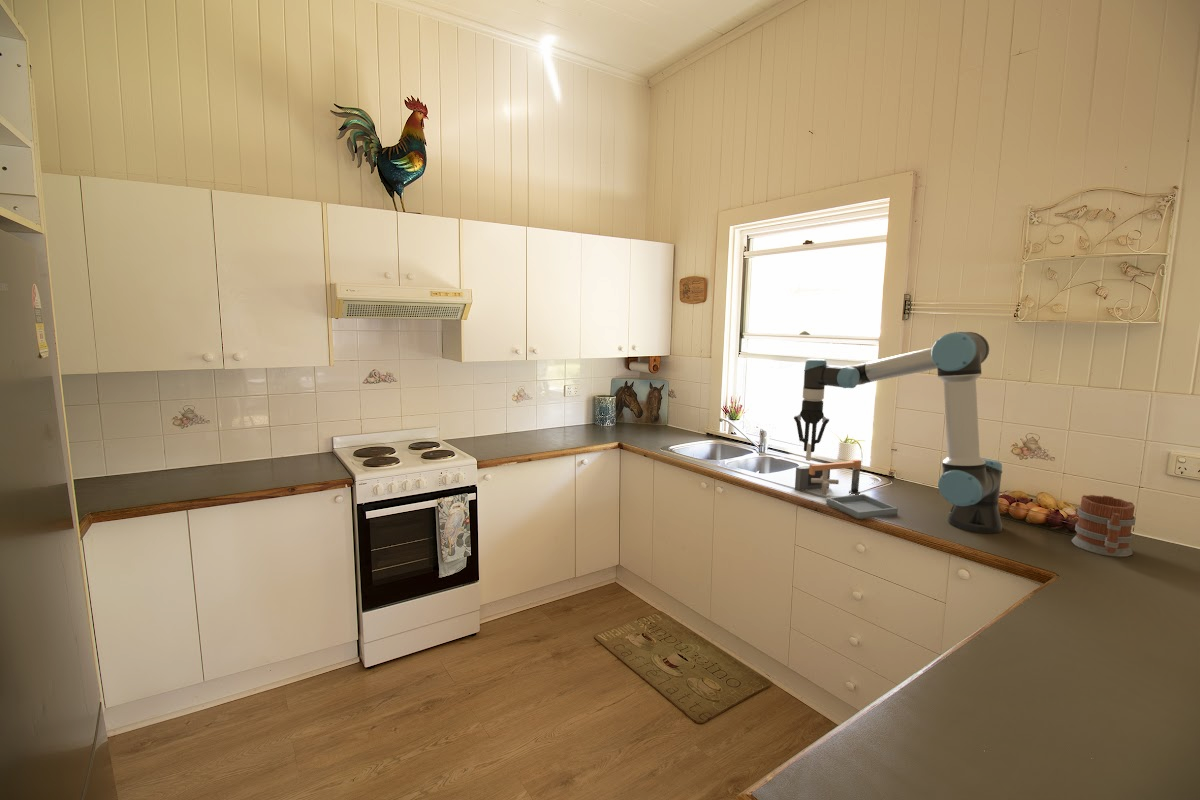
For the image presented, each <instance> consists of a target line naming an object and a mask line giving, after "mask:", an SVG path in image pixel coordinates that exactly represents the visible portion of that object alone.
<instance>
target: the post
mask: <svg viewBox="0 0 1200 800" xmlns="http://www.w3.org/2000/svg"><path fill="white" fill-rule="evenodd" d="M860 471H861V469H854V468H852V472H851V473H852V474H851V475H852V476H851V485H850V490H849V491H848V494H849V493H851V494H855V495H859V494H861V492H860V491H859V484H860V473H861V472H860ZM851 494H850V495H851Z"/></svg>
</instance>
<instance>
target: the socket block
mask: <svg viewBox="0 0 1200 800" xmlns="http://www.w3.org/2000/svg"><path fill="white" fill-rule="evenodd" d="M809 467H810V465H804V466H796V467H795V479H794V480H795V481H794V489H795V490H797V491H799V492H803V491H811V490H820V489H821V490H822V483H811V478H818V479H820V477H821V476H823V470H819V471H815V475H811V474H809ZM827 479H831V470H828V477H827ZM829 488H830V486H829V487H827V489H829Z"/></svg>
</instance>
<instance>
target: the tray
mask: <svg viewBox="0 0 1200 800" xmlns="http://www.w3.org/2000/svg"><path fill="white" fill-rule="evenodd" d="M825 501H826V503H825V505H827V506H829V507H831V508H832V509H835V510H837V511H839V512H842V513H843V514H846V515H848V516H850V517H853V518H854V519H856V520H864V519H865V520H866V519H873V518H875V517H876V518H882V517H883V518H884V517H890V516H891V517H893V516H898V512H899V511H898V509H899V508H898V507H896V506H893V505H891V504H889V503H886V502H883V501H882V500H879V499H876V498H875V497H872V496H869V495H866V494H864V493H863V494H861V493H860V495H851V494H849V495H842V496H841V495H840V496H832V497H826V500H825Z"/></svg>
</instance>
